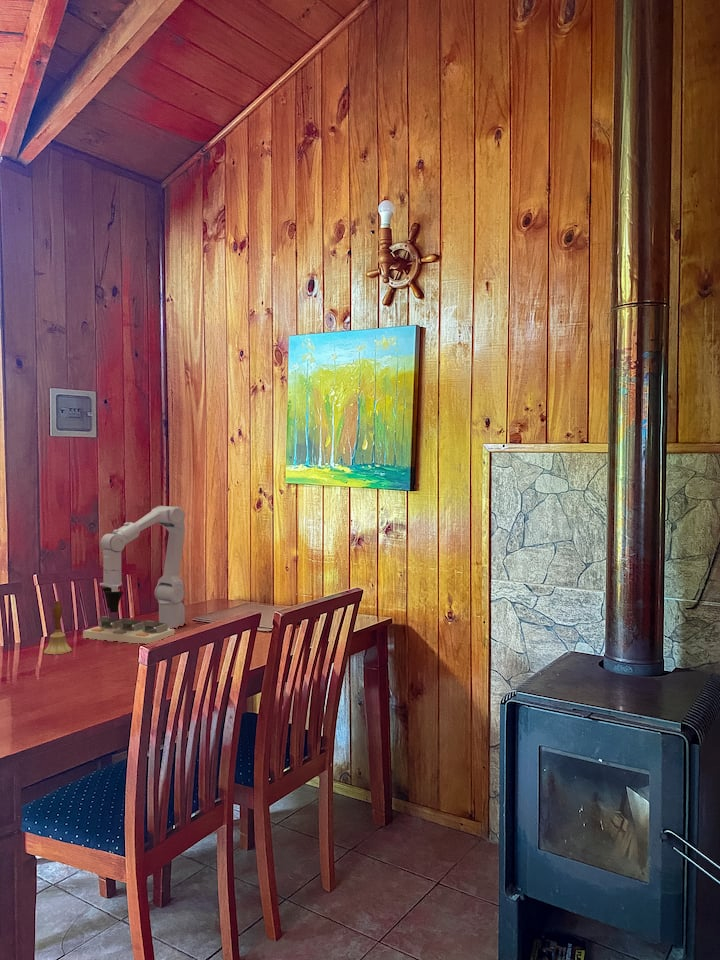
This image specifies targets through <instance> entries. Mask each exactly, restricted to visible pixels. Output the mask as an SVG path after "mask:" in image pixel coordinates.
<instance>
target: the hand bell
mask: <svg viewBox="0 0 720 960" xmlns="http://www.w3.org/2000/svg"><path fill="white" fill-rule="evenodd" d="M62 610H63V609H62V605H61V602H60V601H59V600H55V601H54V605H53V607H52V615H53V616H52V617H53V619H54V632H53V633H52V634H50V636H49V641H48V645H47V646H46V647H45V649H43V654H45V655H48V654H53V655H52V656H57V655H56V654H60V655H64V653H65V654H68V653H67V652H69V653H71V652H72V651H73V649H72V647H71V646H70V645H69V643H68V642H67V638H66V633H65V632H62V630H61V629H62V628H61V618H62V613H63V611H62ZM70 651H71V652H70Z"/></svg>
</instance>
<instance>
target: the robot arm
mask: <svg viewBox="0 0 720 960" xmlns="http://www.w3.org/2000/svg"><path fill="white" fill-rule="evenodd" d="M185 516H186V514H185V512H184V511H183V509H182V508H181V507H180V506H167V505H165V506H164V505H158V506H156V507H154V508H152V509H151V511H150V512H148V513H147V514H145V515H144V516H143V517H141V518H140V519H138V520H137V521H135V522H131V521H130V522H128V521H127V522H125V523H123V525H122V526H120V527H119V528H118V529H114V530H113V531H112V532H111V533H106V534H104V535H103V536H102V537H101V539H100V541H99V543H98V545H99V547H100V549H101V551H102V556H103V560H102V561H103V562H102V563H103V566H102V567H103V569H102V570H103V574H102V575H103V579H102V580H103V582H100V583H99V586H100V587H101V588H102V591H103V592H104V595H105V596H104V597H105V601H106V605H107V609H109V612H110V614H111V613H117V612H118V611H119V610H118V609H119V605H120V600H121V598H122V595H124V591H123V590H120V588H121V586H122V585H123V582H122V551H123V550H124V548H125V547H126V545H127V544H128V543H130V542H132V541H133V540H135V539H137V538H138V537H139V536H140V532H141V531H143V530H145V529H147V528H149V527H150V526H153V525H155V524H156V523H158V524H159V525H161V526H162V527H164V528H165V529H166V530H167V531H168V537H167V538H168V539H167V546H166V554H165V561H164V568H163V574H162V576H161V577H160V578H159V579H157V585H156V587H155V589H154V597H155V599H156V600H157V603H158V622H159V623H166V624H168V628H169V629H170V628H172V627H177V626H179V625H180V624H183V623H186V621H185V620H186V619H185V615H186V614H185V611H186V608H185V605H184V603H183V602H182V601H183V600H184V599H183V598H184V596H185V589H184V582H183V580H182V579H181V578H180V570H181V569H180V568H181V562H182V556H183V555H182V553H183V547H184V540H185V539H184V538H185V532H186V531H185V530H186V526H185Z"/></svg>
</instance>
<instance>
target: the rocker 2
mask: <svg viewBox="0 0 720 960" xmlns="http://www.w3.org/2000/svg"><path fill="white" fill-rule="evenodd" d="M142 621H143V626H150V627H157V626H160V625H163V624H166V623H159V621H154V620H142Z"/></svg>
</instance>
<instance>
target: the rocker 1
mask: <svg viewBox="0 0 720 960" xmlns="http://www.w3.org/2000/svg"><path fill="white" fill-rule="evenodd" d="M121 619H122V618H116V617H112V616H104V615H103V616H101V615H100V616H99V620H98V622H99V621H102V622H110V623H112V622H115V621H118V620H121Z"/></svg>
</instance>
